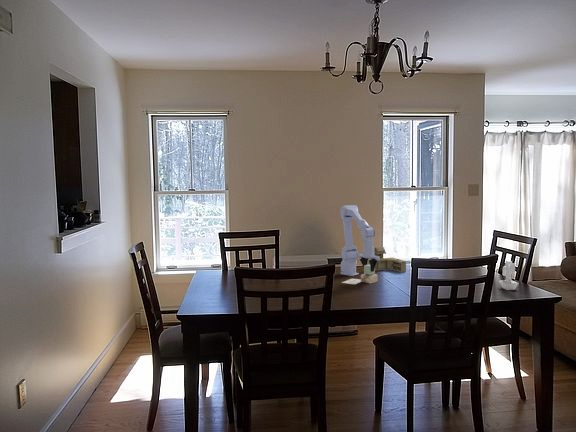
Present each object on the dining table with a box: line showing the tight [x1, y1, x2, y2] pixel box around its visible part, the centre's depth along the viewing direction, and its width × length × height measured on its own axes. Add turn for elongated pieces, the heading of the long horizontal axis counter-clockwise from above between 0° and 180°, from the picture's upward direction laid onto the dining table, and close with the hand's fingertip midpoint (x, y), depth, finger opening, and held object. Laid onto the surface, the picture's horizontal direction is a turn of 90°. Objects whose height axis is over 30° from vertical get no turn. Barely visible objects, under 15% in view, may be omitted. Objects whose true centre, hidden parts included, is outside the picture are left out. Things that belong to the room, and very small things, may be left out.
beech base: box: [360, 273, 379, 284], centre depth 265 cm, size 7×7×4 cm
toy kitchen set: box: [367, 246, 407, 273], centre depth 292 cm, size 18×17×15 cm
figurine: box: [498, 260, 519, 291], centre depth 239 cm, size 7×9×15 cm
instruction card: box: [341, 278, 362, 285], centre depth 267 cm, size 9×12×1 cm
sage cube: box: [363, 263, 376, 275], centre depth 265 cm, size 4×4×5 cm
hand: (368, 270), depth 265 cm, fingers closed on sage cube, 4 cm apart
